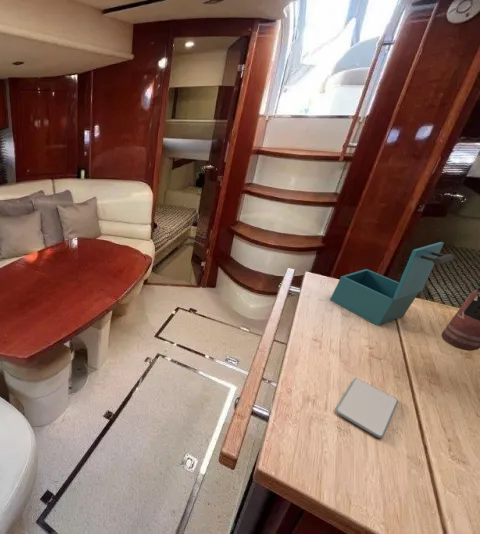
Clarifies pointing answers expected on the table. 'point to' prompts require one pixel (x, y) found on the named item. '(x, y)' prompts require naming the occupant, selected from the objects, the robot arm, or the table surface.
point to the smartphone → (367, 407)
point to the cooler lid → (420, 269)
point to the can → (463, 328)
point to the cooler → (371, 296)
